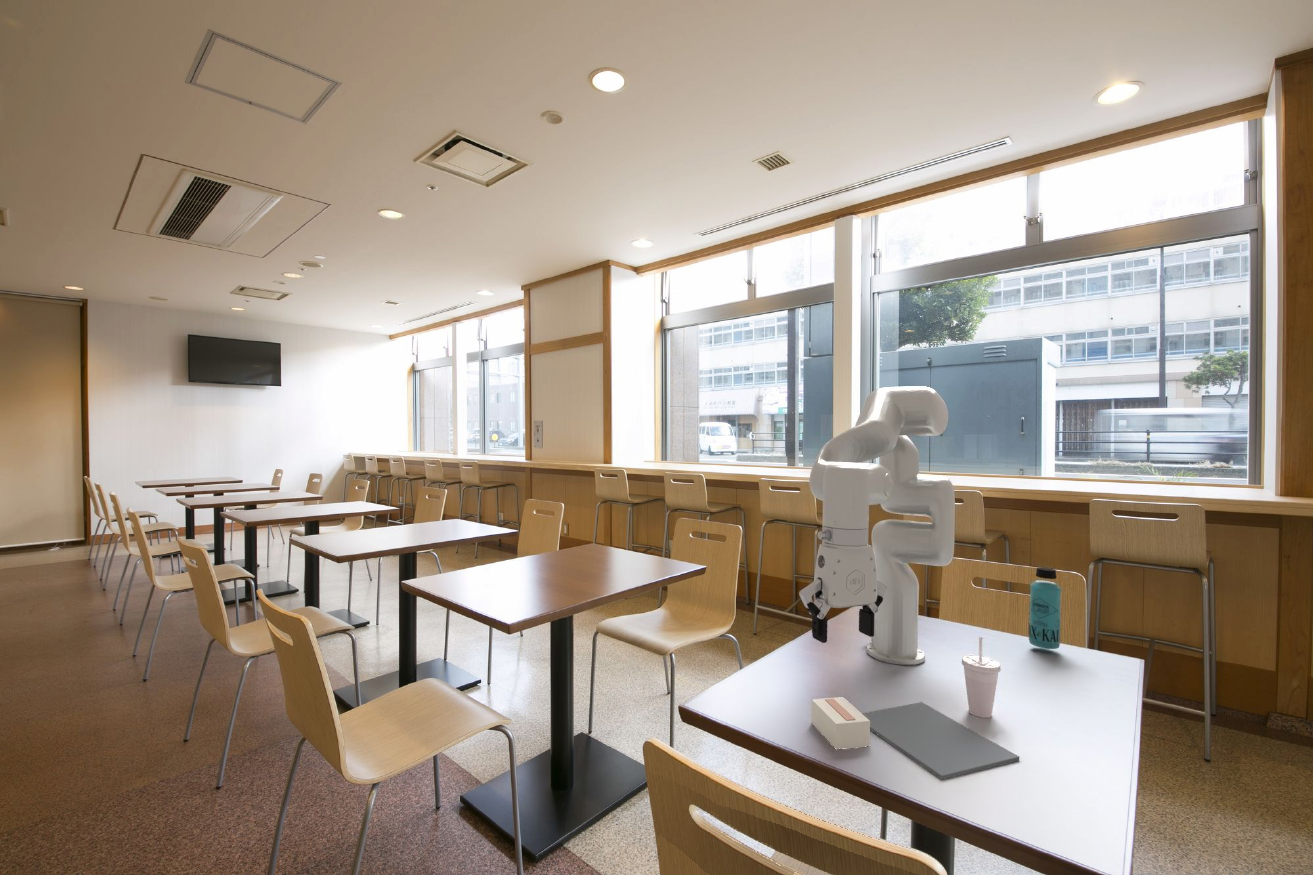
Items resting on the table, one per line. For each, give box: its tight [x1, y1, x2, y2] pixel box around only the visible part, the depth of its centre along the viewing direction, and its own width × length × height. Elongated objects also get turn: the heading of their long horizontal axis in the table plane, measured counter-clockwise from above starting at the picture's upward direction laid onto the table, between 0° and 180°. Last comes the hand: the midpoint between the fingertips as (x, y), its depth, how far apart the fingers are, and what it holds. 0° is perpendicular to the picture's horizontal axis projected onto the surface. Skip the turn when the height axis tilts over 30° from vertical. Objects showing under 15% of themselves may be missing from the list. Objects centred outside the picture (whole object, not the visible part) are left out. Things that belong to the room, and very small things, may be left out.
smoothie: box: [961, 635, 1002, 719], centre depth 109 cm, size 6×6×14 cm
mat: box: [861, 701, 1020, 780], centre depth 99 cm, size 20×16×1 cm
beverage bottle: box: [1027, 566, 1062, 650], centre depth 142 cm, size 6×7×20 cm
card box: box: [810, 696, 871, 749], centre depth 100 cm, size 9×6×5 cm, turn 11°
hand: (843, 637), depth 100 cm, fingers open, 9 cm apart
